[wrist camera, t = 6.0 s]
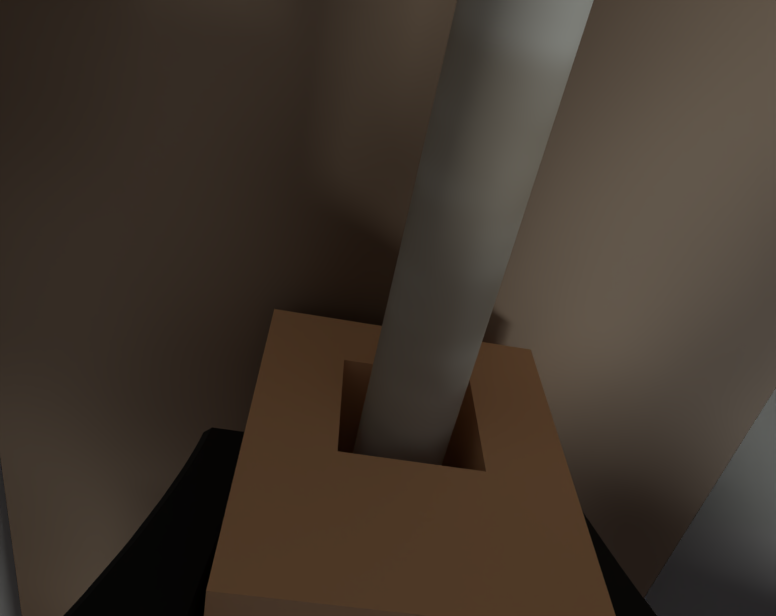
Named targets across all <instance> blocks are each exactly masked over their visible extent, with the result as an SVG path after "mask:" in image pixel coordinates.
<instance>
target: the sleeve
mask: <svg viewBox="0 0 776 616" xmlns="http://www.w3.org/2000/svg"><path fill="white" fill-rule="evenodd" d="M381 328H382V326H379V325H373V324H366V323H360V322H354V321H347V320H341V319H335V318H328V317H322V316H316V315H309V314H303V313H297V312H290V311H284V310H278V309H274V312H273V316H272V320H271V324H270V328H269V333H268V337H267V341H266V345H265V349H264V353H263V357H262V362H261V366H260V370H259V374H258V378H257V382H256V386H255V391H254V395H253V399H252V403H251V407H250V411H249V415H248V420H247V424H246V428H245V432H244V436H243V440H242V444H241V448H240V453H239V457H238V461H237V465H236V469H235V473H234V477H233V482H232V486H231V490H230V494H229V498H228V502H227V506H226V511H225V515H224V519H223V523H222V527H221V531H220V535H219V540H218V544H217V548H216V552H215V556H214V560H213V564H212V569H211V573H210V577H209V581H208V585H207V589H206V597H205V608H204V616H616V615H615V612H614V609H613V606H612V603H611V599H610V596H609V593H608V590H607V587H606V584H605V581H604V578H603V574H602V571H601V568H600V565H599V562H598V559H597V556H596V552H595V549H594V546H593V543H592V540H591V537H590V534H589V531H588V527H587V524H586V521H585V518H584V515H583V512H582V509H581V505H580V502H579V499H578V496H577V493H576V490H575V487H574V484H573V480H572V477H571V474H570V471H569V468H568V465H567V462H566V458H565V455H564V452H563V449H562V446H561V443H560V440H559V437H558V433H557V430H556V427H555V424H554V421H553V418H552V415H551V411H550V408H549V405H548V402H547V399H546V396H545V393H544V389H543V386H542V383H541V380H540V377H539V374H538V371H537V368H536V364H535V361H534V358H533V355H532V352H531V350H530V349H524V348H518V347H511V346H505V345H499V344H493V343H486V342H482V343H481V346H480V349H479V352H478V356H477V359H476V362H475V365H474V368H473V371H472V374H471V377H470V380H469V383H468V386H467V389H466V392H465V395H464V398H463V401H462V404H461V407H460V411H459V414H458V417H457V420H456V423H455V426H454V429H453V432H452V435H451V438H450V441H449V444H448V447H447V450H446V453H445V456H444V459H443V463H442V466H441V465H434V464H427V463H419V462H412V461H405V460H397V459H390V458H383V457H375V456H368V455H361V454H354V453H353V450H354V445H355V441H356V437H357V432H358V428H359V424H360V419H361V415H362V411H363V406H364V402H365V398H366V393H367V389H368V385H369V380H370V376H371V372H372V367H373V363H374V359H375V354H376V350H377V346H378V341H379V337H380V333H381Z"/></svg>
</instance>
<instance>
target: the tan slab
mask: <svg viewBox="0 0 776 616" xmlns="http://www.w3.org/2000/svg"><path fill="white" fill-rule="evenodd" d="M274 309H278V310H284V311H290V312H297V313H303V314H309V315H316V316H322V317H328V318H335V319H341V320H347V321H354V322H360V323H366V324H373V325H379V326H382V328H381V333H380V337H379V341H378V346H377V350H376V354H375V359H374V363H373V367H372V372H371V376H370V380H369V385H368V389H367V393H366V398H365V402H364V406H363V411H362V415H361V419H360V424H359V428H358V432H357V437H356V441H355V445H354V450H353V453H354V454H361V455H368V456H375V457H383V458H390V459H397V460H405V461H412V462H419V463H427V464H434V465H441V466H442V463H443V459H444V456H445V453H446V450H447V447H448V444H449V441H450V438H451V435H452V432H453V429H454V426H455V423H456V420H457V417H458V414H459V411H460V407H461V404H462V401H463V398H464V395H465V392H466V389H467V386H468V383H469V380H470V377H471V374H472V371H473V368H474V365H475V362H476V359H477V356H478V352H479V349H480V346H481V343H482V342H486V343H493V344H499V345H505V346H511V347H518V348H524V349H530V350H531V352H532V355H533V358H534V361H535V364H536V368H537V371H538V374H539V377H540V380H541V383H542V386H543V389H544V393H545V396H546V399H547V402H548V405H549V408H550V411H551V415H552V418H553V421H554V424H555V427H556V430H557V433H558V437H559V440H560V443H561V446H562V449H563V452H564V455H565V458H566V462H567V465H568V468H569V471H570V474H571V477H572V480H573V484H574V487H575V490H576V493H577V496H578V499H579V502H580V505H581V509H582V511H583V512H584V514H585V515H586V517H587V518H588V520H589V521H590V523H591V524H592V526H593V527H594V529H595V530H596V532H597V533H598V534H599V536H600V537H601V539H602V540H603V542H604V543H605V545H606V546H607V548H608V549H609V550H610V552H611V553H612V555H613V556H614V558H615V559H616V560H617V562H618V563H619V565H620V566H621V568H622V569H623V570H624V572H625V573H626V575H627V576H628V577H629V579H630V580H631V582H632V583H633V584H634V586H635V587H636V588H637V590H638V591H639V592H640V594H641V595H642V597H643V598H644V597H645V596H646V594H647V592H648V591H649V589H650V588H651V586H652V584H653V583H654V581H655V580H656V578H657V576H658V575H659V573H660V572H661V570H662V568H663V567H664V565H665V564H666V562H667V560H668V559H669V557H670V556H671V554H672V552H673V551H674V549H675V548H676V546H677V544H678V543H679V541H680V540H681V538H682V537H683V535H684V533H685V532H686V530H687V529H688V527H689V525H690V524H691V522H692V521H693V519H694V517H695V516H696V514H697V513H698V511H699V509H700V508H701V506H702V505H703V503H704V501H705V500H706V498H707V497H708V495H709V493H710V492H711V490H712V489H713V487H714V485H715V484H716V482H717V481H718V479H719V477H720V476H721V474H722V473H723V471H724V470H725V468H726V466H727V465H728V463H729V462H730V460H731V458H732V457H733V455H734V454H735V452H736V450H737V449H738V447H739V446H740V444H741V442H742V441H743V439H744V438H745V436H746V434H747V433H748V431H749V430H750V428H751V426H752V425H753V423H754V422H755V420H756V418H757V417H758V415H759V414H760V412H761V411H762V409H763V407H764V406H765V404H766V403H767V401H768V399H769V398H770V396H771V395H772V393H773V391H774V390H775V388H776V0H0V458H1V466H2V473H3V481H4V488H5V495H6V503H7V510H8V518H9V525H10V532H11V540H12V547H13V555H14V562H15V569H16V577H17V584H18V592H19V599H20V606H21V614H22V616H64V614H65V613H66V612H67V611H68V610H69V609H70V608H71V607H72V606H73V605H74V604H75V603H76V602H77V600H78V599H79V598H80V597H81V596H82V595H83V594H84V593H85V591H86V590H87V589H88V588H89V587H90V586H91V584H92V583H93V582H94V581H95V580H96V579H97V578H98V576H99V575H100V574H101V573H102V572H103V571H104V569H105V568H106V567H107V566H108V565H109V564H110V562H111V561H112V560H113V559H114V558H115V557H116V556H117V554H118V553H119V552H120V551H121V550H122V548H123V547H124V546H125V545H126V544H127V542H128V541H129V540H130V539H131V537H132V536H133V535H134V533H135V532H136V531H137V530H138V528H139V527H140V526H141V524H142V523H143V522H144V520H145V519H146V518H147V517H148V515H149V514H150V513H151V511H152V510H153V509H154V507H155V506H156V505H157V504H158V502H159V501H160V500H161V498H162V497H163V495H164V494H165V493H166V491H167V490H168V488H169V487H170V486H171V484H172V483H173V481H174V480H175V478H176V477H177V476H178V474H179V473H180V471H181V470H182V468H183V466H184V465H185V463H186V462H187V460H188V459H189V457H190V455H191V454H192V452H193V450H194V449H195V447H196V445H197V444H198V442H199V440H200V438H201V436H202V434H203V432H205V431H206V430H208V429H210V428H212V427H213V428H220V429H227V430H234V431H242V432H245V428H246V424H247V420H248V415H249V411H250V407H251V403H252V399H253V395H254V391H255V386H256V382H257V378H258V374H259V370H260V366H261V362H262V357H263V353H264V349H265V345H266V341H267V337H268V333H269V328H270V324H271V320H272V316H273V312H274Z"/></svg>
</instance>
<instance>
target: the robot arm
mask: <svg viewBox="0 0 776 616" xmlns="http://www.w3.org/2000/svg"><path fill="white" fill-rule="evenodd" d="M243 436H244V432H242V431H234V430H227V429H220V428H213V427H212V428H210V429H208V430H206V431H205V432H203V434H202V436H201V438H200V440H199V442H198V444H197V445H196V447H195V449H194V450H193V452H192V454H191V455H190V457H189V459H188V460H187V462H186V463H185V465H184V466H183V468H182V470H181V471H180V473H179V474H178V476H177V477H176V478H175V480H174V481H173V483H172V484H171V486H170V487H169V488H168V490H167V491H166V493H165V494H164V495H163V497H162V498H161V500H160V501H159V502H158V504H157V505H156V506H155V507H154V509H153V510H152V511H151V513H150V514H149V515H148V517H147V518H146V519H145V520H144V522H143V523H142V524H141V526H140V527H139V528H138V530H137V531H136V532H135V533H134V535H133V536H132V537H131V539H130V540H129V541H128V542H127V544H126V545H125V546H124V547H123V548H122V550H121V551H120V552H119V553H118V554H117V556H116V557H115V558H114V559H113V560H112V561H111V562H110V564H109V565H108V566H107V567H106V568H105V569H104V571H103V572H102V573H101V574H100V575H99V576H98V578H97V579H96V580H95V581H94V582H93V583H92V584H91V586H90V587H89V588H88V589H87V590H86V591H85V593H84V594H83V595H82V596H81V597H80V598H79V599H78V600H77V602H76V603H75V604H74V605H73V606H72V607H71V608H70V609H69V610H68V611H67V612H66V613H65V614H64V616H204V608H205V597H206V589H207V585H208V581H209V577H210V573H211V569H212V564H213V560H214V556H215V552H216V548H217V544H218V540H219V535H220V531H221V527H222V523H223V519H224V515H225V511H226V506H227V502H228V498H229V494H230V490H231V486H232V482H233V477H234V473H235V469H236V465H237V461H238V457H239V453H240V448H241V444H242V440H243ZM582 512H583V511H582ZM583 515H584V518H585V521H586V524H587V527H588V531H589V534H590V537H591V540H592V543H593V546H594V549H595V552H596V556H597V559H598V562H599V565H600V568H601V571H602V574H603V578H604V581H605V584H606V587H607V590H608V593H609V596H610V599H611V603H612V606H613V609H614V612H615V615H616V616H657V615H656V614H655V613H654V611H653V610H652V609H651V608H650V606H649V605H648V603H647V602H646V601H645V599H644V598H643V597H642V595H641V594H640V592H639V591H638V590H637V588H636V587H635V586H634V584H633V583H632V582H631V580H630V579H629V577H628V576H627V575H626V573H625V572H624V570H623V569H622V568H621V566H620V565H619V563H618V562H617V560H616V559H615V558H614V556H613V555H612V553H611V552H610V550H609V549H608V548H607V546H606V545H605V543H604V542H603V540H602V539H601V537H600V536H599V534H598V533H597V532H596V530H595V529H594V527H593V526H592V524H591V523H590V521H589V520H588V518H587V517H586V515H585V514H584V512H583Z"/></svg>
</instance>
